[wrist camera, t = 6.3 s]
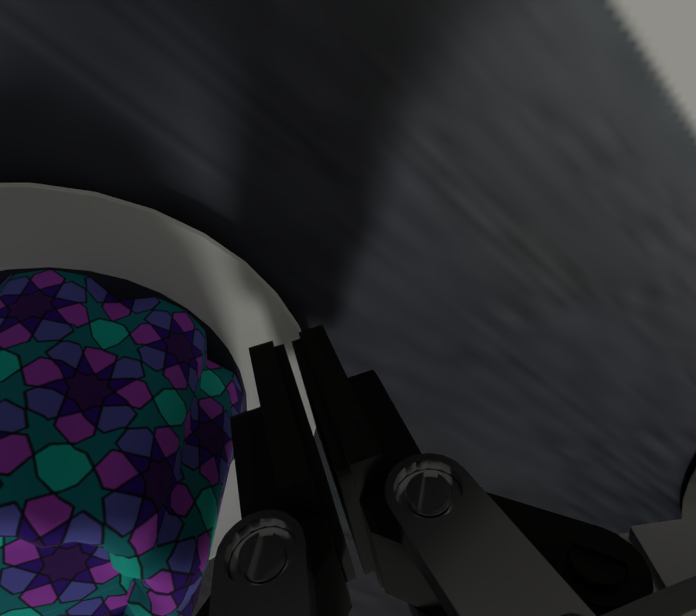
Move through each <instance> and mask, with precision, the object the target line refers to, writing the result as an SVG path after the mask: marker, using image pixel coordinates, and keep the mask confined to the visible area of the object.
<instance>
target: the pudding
mask: <svg viewBox="0 0 696 616" xmlns="http://www.w3.org/2000/svg"><path fill="white" fill-rule="evenodd" d="M43 267H53V268H64V269H75V270H87V271H92V272H97V273H101V274H105V275H110V276H114V277H118V278H122V279H127V280H129V281H132V282H134V283H137V284H139V285H142V286H144V287H147V288H150V289H152V290H155V291H157V292H160V293H161V294H163V295H165V296H167V297H168V298H170V299H172V300H173V301H175V302H177V303H179V304H180V305H182V306H184V307H185V308H187V309H189V310H190V311H191V312H192V313H193V314H195V315H196V316H197V317H198V318H199V319H201V320H202V321H203V322H204V323H205V324H207V325H208V326H209V327H210V328H211V329H212V330H213V331H214V332H215V334H216V335H217V336H218V337H219V338H220V340H221V341H222V342H223V343H224V344H225V346H226V347H227V348H228V349H229V351H230V353H231V355H232V357H233V359H234V361H235V362H236V364H237V366H238V368H239V370H240V372H241V376H242V379H243V383H244V387H245V390H246V395H247V411H249V410H252V409H255V408H258V407H260V403H259V398H258V393H257V388H256V383H255V378H254V373H253V368H252V363H251V358H250V354H249V347H253V346H256V345H259V344H262V343H266V342H269V341H272V340H273V343H274V347H275V346H278V345H281V344H284V346H285V349H286V352H287V355H288V358H289V361H290V365H291V368H292V371H293V374H294V377H295V380H296V383H297V386H298V390H299V393H300V396H301V399H302V402H303V405H304V408H305V411H306V414H307V418H308V421H309V424H310V427H311V430H312V433H313V436H314V433H315V429H316V425H315V422H314V418H313V415H312V411H311V408H310V404H309V401H308V398H307V394H306V391H305V387H304V384H303V380H302V377H301V373H300V370H299V366H298V363H297V360H296V356H295V353H294V349H293V346H292V342H291V341H294V340H297V339H300V336H299V332H301V329H300V327H299V325H298V323H297V322H296V320H295V319H294V317H293V316H292V314H291V313H290V311H289V310H288V309H287V307H286V306H285V304H284V303H283V301H282V300H281V298H280V297H279V295H278V294H277V293H276V292H275V291H274V290H273V289H272V288H271V287H270V286H269V285H268V284H267V283H266V282H265V281H264V280H263V279H262V278H261V277H260V276H259V275H258V274H257V273H256V272H255V271H254V270H253V269H252V268H251V267H250V266H249V265H248V264H247V263H246V262H245V261H244V260H242V259H241V258H239V257H238V256H236V255H235V254H234V253H232V252H231V251H229V250H228V249H226V248H225V247H223V246H222V245H221V244H219V243H218V242H216V241H215V240H213V239H212V238H210V237H209V236H208V235H206V234H205V233H203V232H201V231H199V230H196V229H194V228H192V227H190V226H188V225H186V224H184V223H182V222H180V221H178V220H175V219H173V218H171V217H169V216H167V215H165V214H163V213H161V212H159V211H156V210H154V209H151V208H148V207H144V206H141V205H138V204H134V203H131V202H128V201H124V200H121V199H118V198H114V197H111V196H108V195H104V194H101V193H98V192H93V191H86V190H79V189H72V188H65V187H58V186H51V185H44V184H37V183H0V271H3V270H8V269H24V268H43ZM243 396H244V393H243V391H242V389H241V387H240V384H239V382H238V380H237V378H236V376H235V373H233V372H231V371H229V370H227V369H225V368H223V367H221V366H219V365H217V364H215V363H213V362H211V361H209V360H207V341H206V331H205V330H204V329H203V328H202V327H201V326H200V325H199V323H198V322H197V321H196V320H195V319H194V318H193V317H192V316H191V315H190V314H189V313H188V312H187V311H186V310H184V309H182V308H179V307H177V306H175V305H173V304H171V303H168V302H166V301H164V300H162V299H159V298H157V297H153V298H143V299H133V300H124V301H117V300H116V299H115V298H114V297H113V296H111V295H110V294H109V293H108V292H107V291H106V290H104V289H103V288H102V287H101V286H100V285H98V284H97V283H96V282H95V281H94V280H92V279H91V278H90V277H89V276H85V275H79V274H74V273H69V272H63V271H58V270H53V269H46V270H39V271H32V272H26V273H19V274H13V275H10V276H9V277H8V278H7V279H6V280H5V281H4V282H3V283H2V284H1V285H0V616H191V614H192V612H193V610H194V607H195V605H196V602H197V599H198V595H199V590H200V586H201V581H202V577H203V575H204V573H205V570H206V568H207V565H208V561H209V560H210V559H212V558H213V557H215V556H216V552H217V548H218V546H219V544H220V542H221V541H222V539H223V537H224V535H225V534H226V533H227V532H228V531H229V530H230V529H231V528H232V527H233V526H234V524H235V523H237V522H239V521H240V520H242V519H241V511H240V502H239V494H238V485H237V477H236V468H235V460H233V461H232V463H231V460H232V455H233V443H232V434H231V426H230V417H231V416H234V415H237V414H240V413H242V406H243ZM230 464H231V465H230Z"/></svg>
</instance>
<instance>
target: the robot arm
mask: <svg viewBox="0 0 696 616" xmlns="http://www.w3.org/2000/svg"><path fill="white" fill-rule="evenodd" d="M299 336H300V339H297V340H294V341H291V342H292V346H293V349H294V353H295V356H296V360H297V363H298V366H299V370H300V373H301V377H302V380H303V384H304V387H305V391H306V394H307V398H308V401H309V404H310V408H311V411H312V415H313V418H314V422H315V425H316V429H317V432H318V435H319V438H320V441H321V445H322V448H323V451H324V454H325V457H326V460H327V463H328V466H329V469H330V472H331V475H332V477H333V480H334V483H335V486H336V489H337V492H338V495H339V498H340V501H341V504H342V507H343V510H344V513H345V516H346V519H347V522H348V525H349V528H350V531H351V534H352V537H353V540H354V543H355V546H356V549H357V552H358V555H359V558H360V561H361V564H362V567H363V570H364V573H365V574H368V573H370V572H373V571H375V572H376V574H377V577H378V580H379V583H380V586H381V588H382V587H384V589H385V592H386V593H387V594H389V595H392V596H394V597H396V598H398V599H400V600H403V601H405V602H407V603H408V606H409V608H410V611H411V613H412V615H413V616H696V467H695V469H694V471H693V473H692V475H691V477H690V479H689V481H688V484H687V487H686V490H685V494H684V497H683V504H682V519H680V520H673V521H666V522H658V523H651V524H644V525H637V526H631V527H630V532H629V533H624V534H616V533H613V532H611V531H609V530H606V529H604V528H602V527H599V526H595V525H592V524H589V523H586V522H582V521H579V520H576V519H572V518H569V517H566V516H563V515H559V514H556V513H553V512H550V511H546V510H543V509H540V508H536V507H533V506H530V505H527V504H523V503H520V502H517V501H514V500H510V499H507V498H504V497H500V496H497V495H494V494H491V493H487V492H485V491H484V490H483V488H482V487H481V486H480V485H479V484H478V483H477V482H476V481H475V479H474V478H473V477H472V476H471V475H470V474H469V473H468V472H467V470H466V469H465V468H464V467H463V466H461V465H460V464H459V463H458V462H456V461H455V460H454V459H451V458H449V457H447V456H444V455H440V454H434V453H424V454H421V452H420V450H419V448H418V447H417V445H416V443H415V441H414V440H413V438H412V436H411V434H410V432H409V431H408V429H407V427H406V425H405V424H404V422H403V420H402V418H401V417H400V415H399V413H398V411H397V409H396V408H395V406H394V404H393V402H392V401H391V399H390V397H389V395H388V394H387V392H386V390H385V388H384V386H383V385H382V383H381V381H380V379H379V378H378V376H377V374H376V373H375V371H373V370H371V371H367V372H364V373H361V374H358V375H355V376H352V377H349V378H347V376H346V374H345V372H344V370H343V367H342V365H341V363H340V361H339V359H338V357H337V355H336V353H335V351H334V348H333V346H332V344H331V342H330V340H329V338H328V336H327V334H326V332H325V329H324V327H323V326H322V325H321V326H317V327H314V328H311V329H308V330H304V331H301V332H299ZM249 354H250V358H251V363H252V368H253V373H254V378H255V383H256V388H257V393H258V398H259V403H260V407H258V408H255V409H252V410H249V411H246V412H243V413H240V414H237V415H234V416H231V417H230V426H231V434H232V443H233V451H234V460H235V468H236V477H237V485H238V494H239V502H240V511H241V519H242V520H240V521H239V522H237V523H235V524H234V526H233V527H232V528H231V529H230V530H229V531H228V532H227V533H226V534H225V535H224V537H223V539H222V541H221V542H220V544H219V546H218V548H217V552H216V556H215V560H214V568H213V577H212V587H211V595H210V596H209V598H208V599H207V601H206V602H205V603H204V605H203V606H202V608H201V609H200V610H199V612H198V613H197V615H196V616H348V614H349V612H350V610H351V608H352V605H351V601H350V600H351V599H350V595H349V592H348V589H347V585H346V582H347V581H350V580H353V579H355V578H356V575H355V572H354V568H353V565H352V562H351V558H350V555H349V552H348V548H347V545H346V541H345V538H344V535H343V531H342V528H341V524H340V521H339V518H338V514H337V511H336V508H335V504H334V501H333V497H332V494H331V491H330V487H329V484H328V481H327V477H326V474H325V471H324V468H323V464H322V461H321V458H320V455H319V452H318V449H317V446H316V443H315V439H314V436H313V433H312V430H311V427H310V424H309V421H308V418H307V414H306V411H305V408H304V405H303V402H302V399H301V396H300V393H299V390H298V386H297V383H296V380H295V377H294V374H293V371H292V368H291V365H290V361H289V358H288V355H287V352H286V349H285V346H284V344H281V345H278V346H275V347H274V343H273V340H272V341H269V342H266V343H262V344H259V345H256V346H253V347H249Z"/></svg>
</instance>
